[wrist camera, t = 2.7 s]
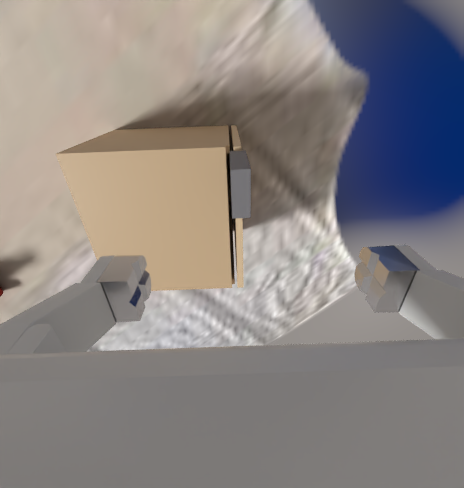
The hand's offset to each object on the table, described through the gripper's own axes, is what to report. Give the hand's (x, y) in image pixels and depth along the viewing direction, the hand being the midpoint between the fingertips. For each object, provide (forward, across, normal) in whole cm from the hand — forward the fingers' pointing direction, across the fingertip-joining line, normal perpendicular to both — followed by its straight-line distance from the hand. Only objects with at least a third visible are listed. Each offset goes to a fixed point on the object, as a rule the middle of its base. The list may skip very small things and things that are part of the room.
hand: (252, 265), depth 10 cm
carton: (+24, +7, +5) cm, 26 cm away
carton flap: (+24, 0, +5) cm, 24 cm away
